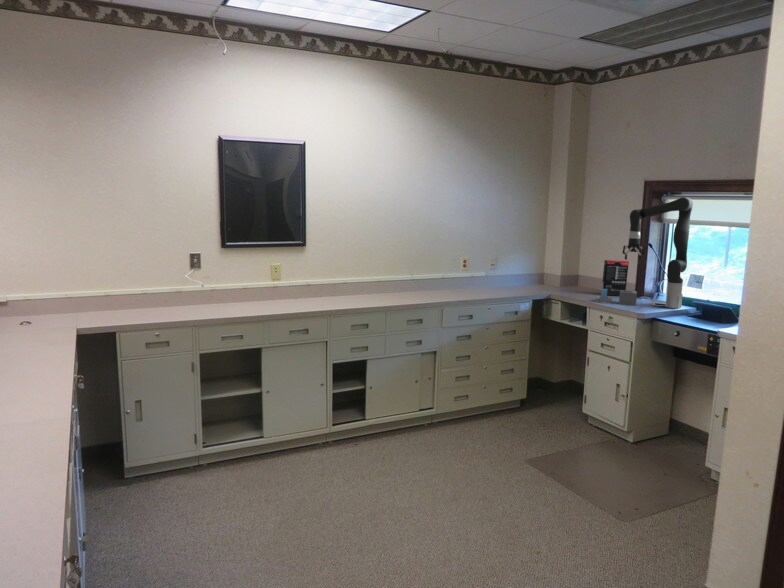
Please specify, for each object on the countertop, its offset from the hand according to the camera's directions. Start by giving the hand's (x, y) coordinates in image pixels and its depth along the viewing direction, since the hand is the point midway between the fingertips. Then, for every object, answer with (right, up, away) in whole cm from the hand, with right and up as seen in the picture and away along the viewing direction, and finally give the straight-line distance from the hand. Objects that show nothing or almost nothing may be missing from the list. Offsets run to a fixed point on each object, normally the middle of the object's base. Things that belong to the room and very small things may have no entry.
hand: (632, 260), depth 410 cm
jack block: (-13, -30, -1) cm, 33 cm away
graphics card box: (-2, -26, +31) cm, 41 cm away
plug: (-20, -30, +2) cm, 36 cm away
